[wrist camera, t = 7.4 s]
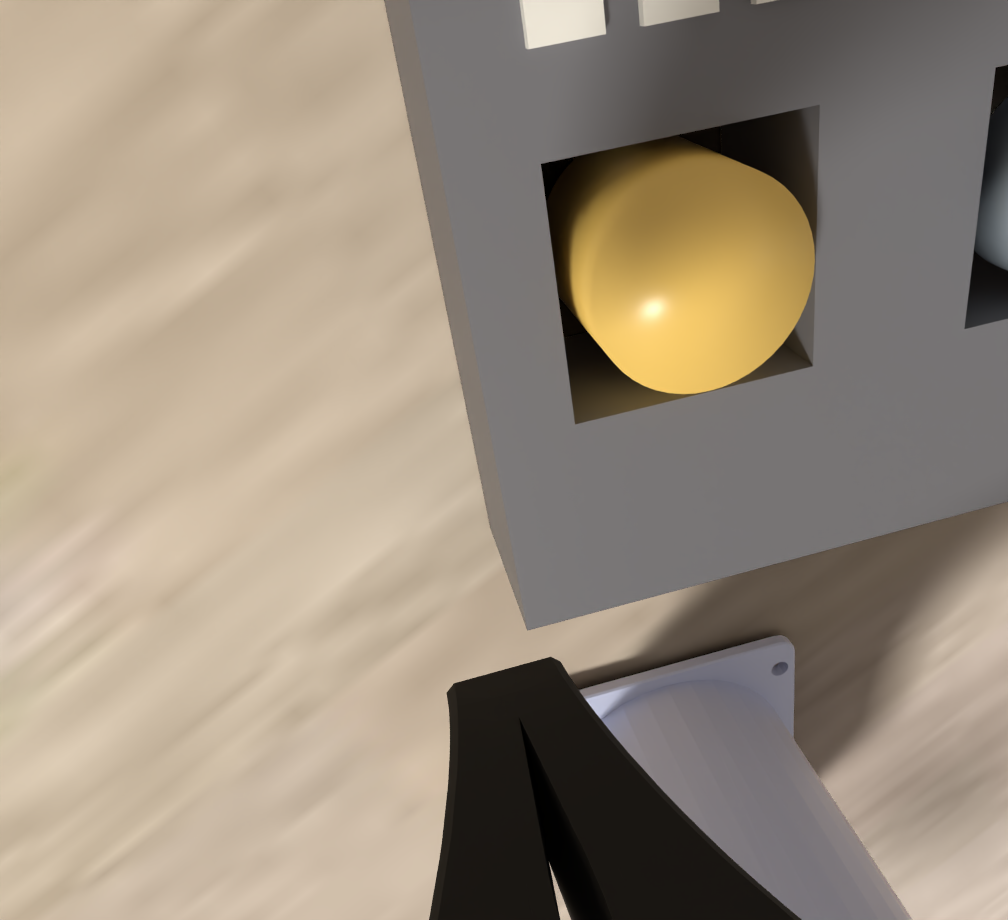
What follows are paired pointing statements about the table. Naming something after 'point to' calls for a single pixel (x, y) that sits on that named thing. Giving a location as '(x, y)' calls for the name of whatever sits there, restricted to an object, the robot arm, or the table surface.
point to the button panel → (813, 341)
